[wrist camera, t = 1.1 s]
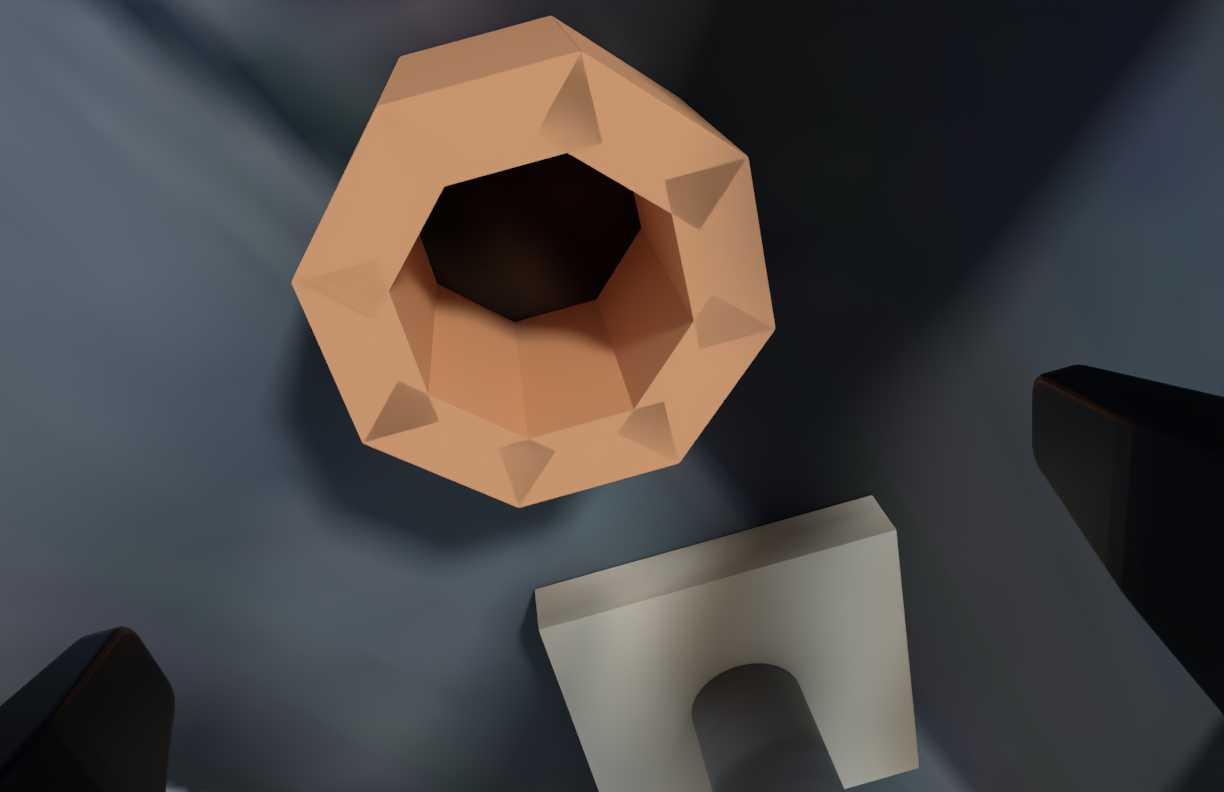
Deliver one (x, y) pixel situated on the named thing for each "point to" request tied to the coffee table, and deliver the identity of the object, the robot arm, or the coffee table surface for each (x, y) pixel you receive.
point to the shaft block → (742, 660)
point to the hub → (556, 341)
